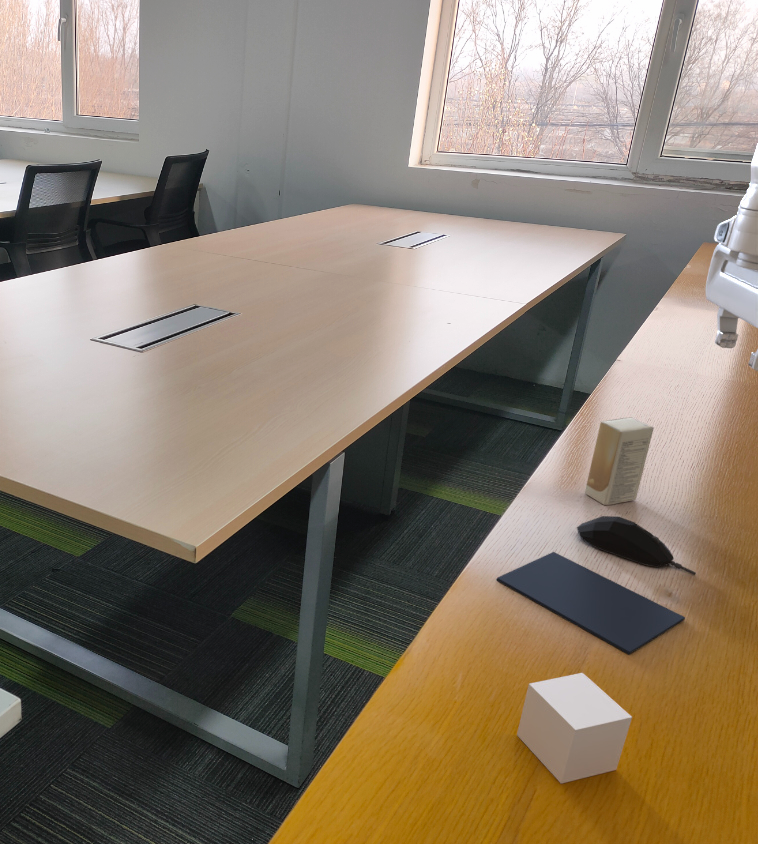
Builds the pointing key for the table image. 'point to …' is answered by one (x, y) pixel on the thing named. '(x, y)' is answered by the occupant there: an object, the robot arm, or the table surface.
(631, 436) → the cosmetic box
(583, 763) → the white cube
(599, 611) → the mouse pad
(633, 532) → the gaming mouse
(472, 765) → the table surface
